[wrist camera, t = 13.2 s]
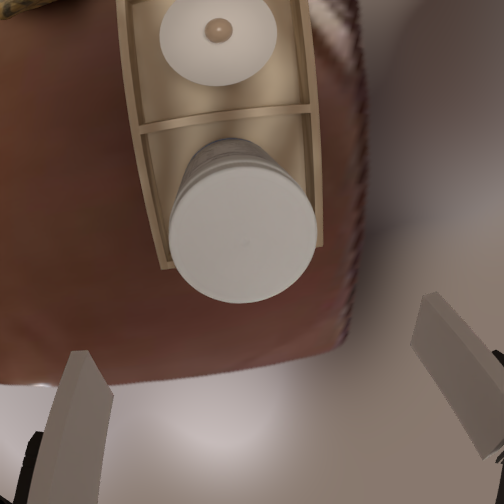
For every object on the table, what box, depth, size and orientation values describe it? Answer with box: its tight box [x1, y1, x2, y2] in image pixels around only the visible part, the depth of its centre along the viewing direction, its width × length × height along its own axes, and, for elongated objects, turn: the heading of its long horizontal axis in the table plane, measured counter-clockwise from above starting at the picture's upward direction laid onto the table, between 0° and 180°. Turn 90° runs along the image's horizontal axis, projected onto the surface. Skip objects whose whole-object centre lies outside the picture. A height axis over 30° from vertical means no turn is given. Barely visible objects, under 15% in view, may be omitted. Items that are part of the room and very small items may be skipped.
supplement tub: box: [169, 137, 317, 303], centre depth 26 cm, size 10×10×15 cm
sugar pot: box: [159, 0, 277, 86], centre depth 22 cm, size 9×9×9 cm
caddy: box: [116, 0, 323, 270], centre depth 28 cm, size 17×28×4 cm, turn 6°
